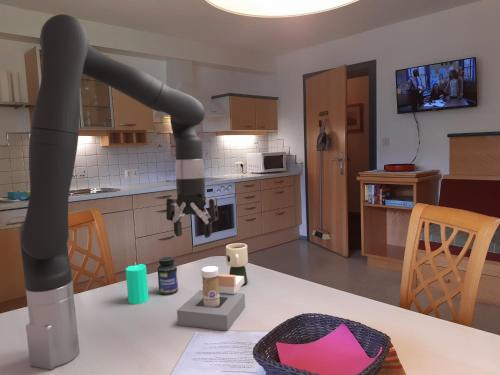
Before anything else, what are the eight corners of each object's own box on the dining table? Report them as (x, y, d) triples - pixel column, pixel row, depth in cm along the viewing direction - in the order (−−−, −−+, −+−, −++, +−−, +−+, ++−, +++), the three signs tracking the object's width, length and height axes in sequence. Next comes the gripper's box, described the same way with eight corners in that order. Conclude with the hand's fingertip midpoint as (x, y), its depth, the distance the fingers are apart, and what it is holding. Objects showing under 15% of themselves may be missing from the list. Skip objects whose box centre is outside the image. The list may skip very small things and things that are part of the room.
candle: (151, 296, 120) (148, 259, 118) (144, 304, 114) (141, 265, 112) (133, 296, 120) (129, 259, 119) (125, 304, 114) (121, 265, 113)
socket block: (227, 330, 95) (226, 315, 95) (177, 324, 99) (176, 310, 99) (245, 307, 108) (244, 293, 108) (200, 302, 113) (199, 290, 112)
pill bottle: (159, 296, 119) (156, 262, 118) (158, 289, 125) (156, 257, 123) (179, 293, 120) (176, 260, 119) (177, 287, 126) (175, 254, 125)
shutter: (234, 294, 107) (233, 276, 107) (205, 291, 110) (204, 275, 109) (244, 282, 116) (243, 266, 115) (217, 280, 119) (216, 265, 118)
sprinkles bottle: (207, 321, 101) (204, 272, 99) (201, 314, 105) (198, 267, 103) (223, 316, 103) (220, 268, 101) (216, 310, 107) (214, 264, 105)
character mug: (228, 278, 132) (226, 242, 131) (248, 277, 132) (246, 241, 131) (227, 290, 121) (225, 250, 120) (249, 289, 122) (247, 249, 120)
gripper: (220, 175, 101) (222, 234, 103) (173, 175, 106) (176, 232, 108) (209, 177, 94) (211, 241, 96) (159, 177, 99) (162, 238, 101)
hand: (193, 236), depth 102 cm, fingers open, 8 cm apart
